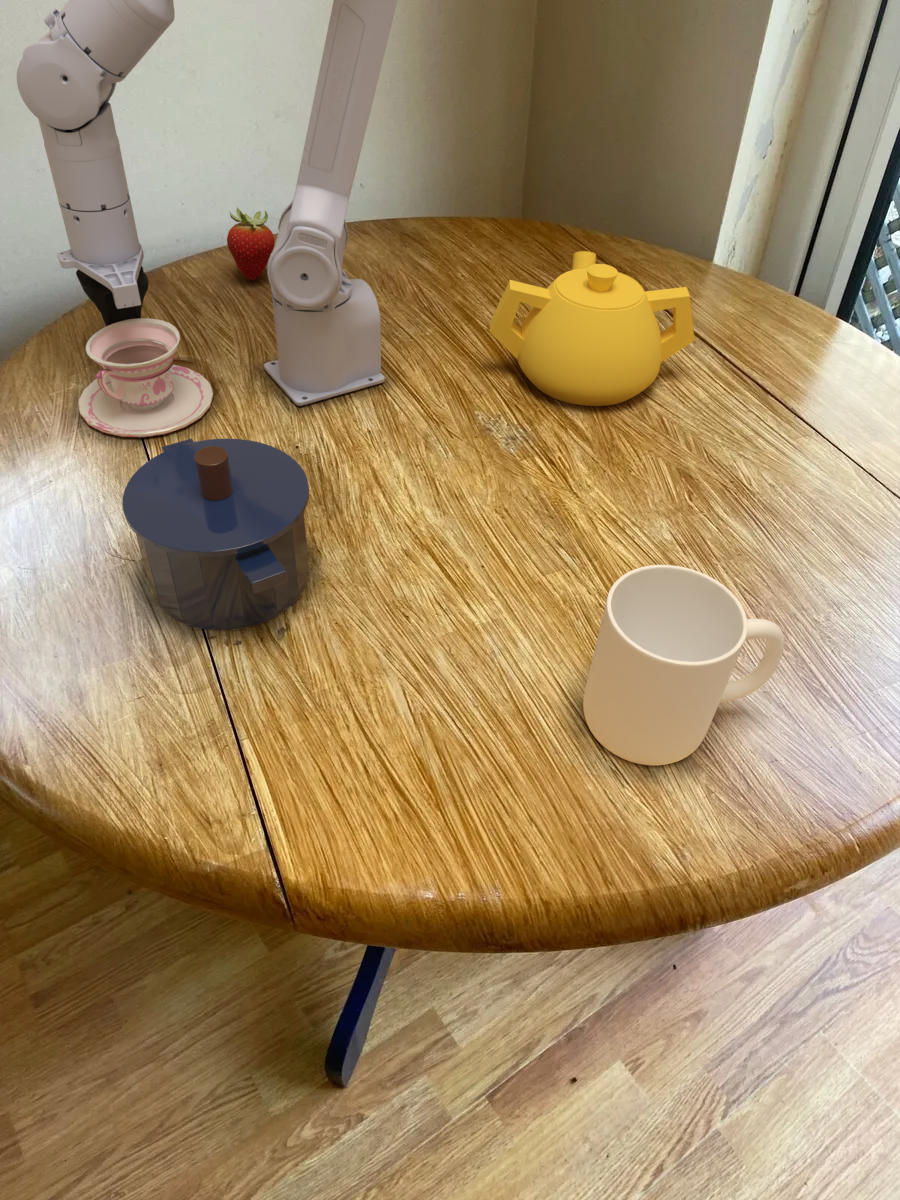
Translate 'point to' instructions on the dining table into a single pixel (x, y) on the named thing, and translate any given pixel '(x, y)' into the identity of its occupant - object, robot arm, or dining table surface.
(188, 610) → the pot
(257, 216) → the fruit
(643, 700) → the cup
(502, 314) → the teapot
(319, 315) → the robot arm
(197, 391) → the teacup
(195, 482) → the pot lid
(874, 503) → the dining table surface
